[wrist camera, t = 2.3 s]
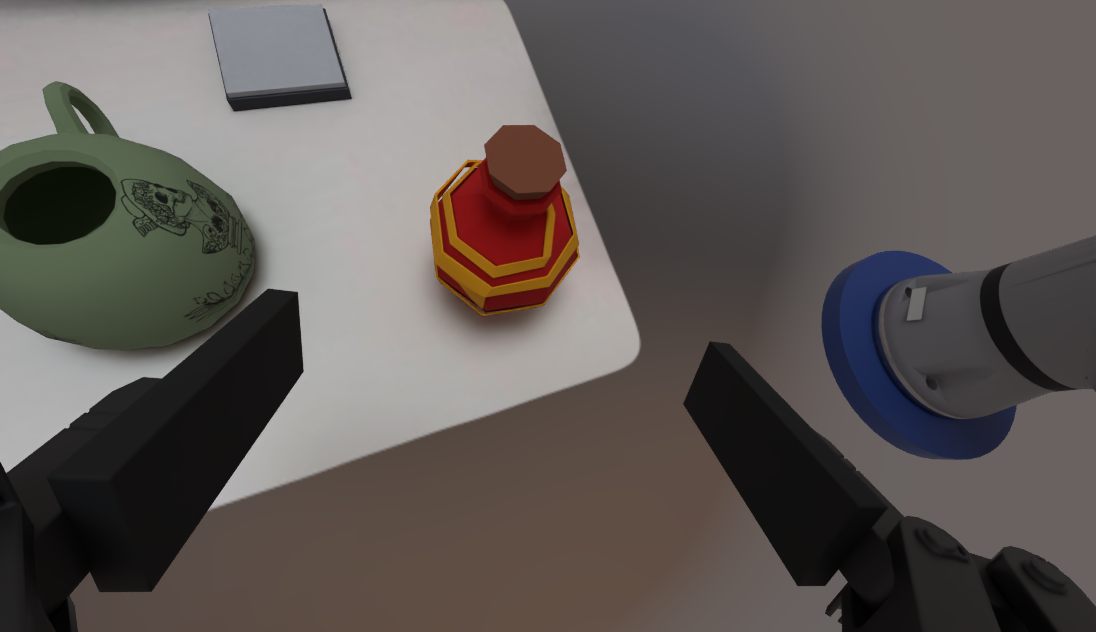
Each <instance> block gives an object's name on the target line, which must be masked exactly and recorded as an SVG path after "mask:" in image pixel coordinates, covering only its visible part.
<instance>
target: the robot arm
mask: <svg viewBox="0 0 1096 632" xmlns="http://www.w3.org/2000/svg"><path fill="white" fill-rule="evenodd" d="M872 336H873V341H874V345H875V349H876V352H877V355H878V357H879V360H880V362H881V364H882V366H883V368H884V370H885V372H886V373H887V375H888V376H889V378H890V379H891V381H892V382H893V384H894V385H895V386H896V387H897V389H898V390H899V391H900V392H901V393H902V394H903V395H904V396H905V397H906V398H907V399H908V400H909V401H910V402H912V403H913V404H914V405H915V406H917V407H918V408H920V409H921V410H923V411H925V412H927V413H929V414H931V415H933V416H936V417H939V418H943V419H949V420H958V419H972V418H977V417H983V416H987V415H990V414H993V413H996V412H998V411H1001V410H1004V409H1007V408H1009V407H1012V406H1015V405H1017V404H1020V403H1023V402H1025V401H1028V400H1031V399H1033V398H1036V397H1038V396H1041V395H1044V394H1047V393H1050V392H1057V391H1066V390H1076V389H1094V390H1095V392H1096V236H1092V237H1089V238H1086V239H1083V240H1080V241H1077V242H1074V243H1071V244H1068V245H1065V246H1061V247H1058V248H1055V249H1052V250H1049V251H1046V252H1043V253H1040V254H1036V255H1033V256H1030V257H1027V258H1024V259H1021V260H1018V261H1015V262H1012V263H1009V264H1006V265H1003V266H1000V267H997V268H994V269H991V270H986V271H974V272H962V273H949V274H936V275H924V276H918V277H914V278H909V279H906V280H903V281H901V282H898V283H895V284H893V285H891V286H889V287H888V288H886V289H885V290H884V291H883V292H882V293H881V294H880V296H879V297H878V299H877V301H876V303H875V306H874V309H873V313H872ZM303 372H304V370H303V357H302V343H301V330H300V316H299V302H298V292H292V291H284V290H275V289H267V290H266V291H265V292H264V293H262V294H261V295H260V296H259V297H258V298H257V299H255V300H254V301H253V302H252V303H251V304H249V305H248V306H247V307H246V308H245V309H244V310H242V311H241V312H240V313H239V314H238V315H236V316H235V317H234V318H233V319H232V320H231V321H229V322H228V323H227V324H226V325H225V326H224V327H222V328H221V329H220V330H219V331H218V332H216V333H215V334H214V335H213V336H212V337H211V338H209V339H208V340H207V341H206V342H205V343H203V344H202V345H201V346H200V347H199V348H198V349H196V350H195V351H194V352H193V353H192V354H191V355H189V356H188V357H187V358H186V359H185V360H183V361H182V362H181V363H180V364H179V365H178V366H176V367H175V368H174V369H173V370H172V371H170V372H169V373H168V374H167V375H166V376H165V377H163V378H162V379H160V378H147V377H143V378H140V379H138V380H136V381H134V382H132V383H130V384H127V385H125V386H123V387H121V388H119V389H117V390H114V391H112V392H111V393H110V394H108V395H107V396H106V397H105V398H103V399H102V400H101V401H99V402H98V403H97V404H96V405H94V406H93V407H92V408H90V411H89V412H88V413H84V414H83V415H81V416H80V417H79V418H77V419H76V420H75V421H73V422H72V423H71V424H70V427H69V428H64V429H63V430H62V431H61V432H59V433H58V434H57V435H55V436H54V437H53V438H51V439H50V440H49V441H48V442H46V443H45V444H44V445H42V446H41V447H40V448H38V449H37V450H36V451H35V452H33V453H32V454H31V455H29V456H28V457H27V458H25V459H24V460H23V461H22V462H20V463H19V464H18V465H16V466H15V467H14V468H13V469H11V470H10V471H9V472H7V473H6V472H5V470H4V468H3V466H2V464H1V462H0V632H78V629H77V621H76V613H75V606H74V603H73V602H72V600H71V598H70V596H69V595H70V594H71V593H72V592H73V590H74V589H75V588H76V587H77V586H78V585H79V583H80V582H81V581H82V580H83V579H84V578H85V576H86V575H87V574H88V573H89V572H90V573H91V575H92V577H93V579H94V581H95V583H96V586H97V588H98V589H99V592H151V591H152V590H153V589H154V587H155V586H156V585H157V583H158V582H159V580H160V579H161V577H162V576H163V574H164V573H165V571H166V570H167V569H168V567H169V566H170V564H171V563H172V561H173V560H174V558H175V557H176V555H177V554H178V553H179V551H180V550H181V548H182V547H183V545H184V544H185V543H186V541H187V540H188V538H189V537H190V535H191V534H192V532H193V531H194V529H195V528H196V526H197V525H198V524H199V522H200V521H201V519H202V518H203V516H204V515H205V514H206V512H207V511H208V509H209V508H210V506H211V505H212V503H213V502H214V501H215V499H216V498H217V496H218V495H219V493H220V492H221V490H222V489H223V488H224V486H225V485H226V483H227V482H228V480H229V479H230V477H231V476H232V474H233V473H234V472H235V470H236V469H237V467H238V466H239V464H240V463H241V461H242V460H243V459H244V457H245V456H246V454H247V453H248V451H249V450H250V448H251V447H252V445H253V444H254V443H255V441H256V440H257V438H258V437H259V435H260V434H261V432H262V431H263V430H264V428H265V427H266V425H267V424H268V422H269V421H270V419H271V418H272V417H273V415H274V414H275V412H276V411H277V409H278V408H279V406H280V405H281V403H282V402H283V401H284V399H285V398H286V396H287V395H288V393H289V392H290V390H291V389H292V388H293V386H294V385H295V383H296V382H297V380H298V379H299V377H300V376H301V374H302V373H303ZM683 404H684V406H685V408H686V409H687V411H688V412H689V414H690V415H691V417H692V419H693V420H694V422H695V423H696V425H697V427H698V428H699V430H700V431H701V433H702V435H703V436H704V438H705V439H706V441H707V443H708V444H709V446H710V447H711V449H712V450H713V452H714V454H715V455H716V457H717V458H718V460H719V462H720V463H721V465H722V466H723V468H724V469H725V471H726V473H727V474H728V476H729V478H730V479H731V481H732V482H733V484H734V485H735V487H736V489H737V490H738V492H739V493H740V495H741V497H742V498H743V500H744V501H745V503H746V505H747V506H748V508H749V509H750V511H751V513H752V514H753V516H754V517H755V519H756V521H757V522H758V524H759V525H760V527H761V528H762V530H763V532H764V533H765V535H766V536H767V538H768V539H769V541H770V543H771V544H772V546H773V548H774V549H775V551H776V552H777V554H778V555H779V557H780V559H781V560H782V562H783V563H784V565H785V567H786V568H787V570H788V571H789V573H790V574H791V576H792V578H793V579H794V581H795V582H796V584H797V586H825V585H826V584H827V583H828V582H829V580H830V579H831V578H832V576H833V575H834V574H835V573H836V572H837V570H838V569H839V570H840V572H841V573H842V574H843V576H844V577H845V578H846V580H847V581H848V583H847V584H846V585H845V586H844V588H843V589H842V590H841V591H840V592H839V593H838V595H837V596H836V597H835V598H834V599H833V601H832V602H831V603H830V604H829V605H828V606H827V609H826V612H825V614H827V615H828V616H831V615H832V614H833V613H834V612H835V611H836V609H842V616H841V617H840V619H839V620H838V622H839V623H841V624H842V632H1096V606H1095V605H1094V604H1093V603H1092V602H1091V601H1090V599H1089V598H1088V597H1087V596H1086V595H1085V594H1084V592H1083V591H1082V590H1081V589H1080V588H1079V587H1078V586H1077V585H1076V584H1075V583H1074V582H1073V581H1072V580H1071V579H1070V578H1069V577H1067V576H1066V575H1065V574H1063V573H1062V572H1061V571H1060V570H1059V569H1058V568H1057V567H1056V566H1054V565H1053V564H1051V563H1050V562H1046V560H1045V559H1043V558H1041V557H1039V556H1037V555H1034V554H1032V553H1030V552H1028V551H1026V550H1023V549H1020V548H1016V547H1012V546H1009V547H1004V548H1003V549H1002V550H1000V552H998V553H997V554H996V555H995V556H994V557H993V558H992V559H987V558H984V557H981V556H977V555H975V554H971V553H969V552H968V551H967V550H966V549H965V548H964V547H963V546H962V545H961V544H960V543H959V542H958V541H957V540H956V539H955V538H953V537H952V536H951V535H949V534H948V533H947V532H946V531H944V530H943V529H941V528H939V527H937V526H936V525H934V524H932V523H931V522H928V521H926V520H923V519H920V518H918V517H911V516H906V517H904V516H903V515H902V514H901V513H900V512H899V511H898V510H897V509H896V508H895V507H894V506H893V505H892V504H891V503H890V502H889V501H888V500H887V499H886V498H885V497H884V496H883V495H882V494H881V493H880V492H879V491H878V490H877V489H876V488H875V487H874V486H873V485H872V484H871V483H870V482H869V481H868V480H867V479H866V478H865V477H864V476H863V475H862V474H861V473H860V472H859V471H856V468H855V467H854V466H853V464H852V463H851V462H850V461H848V460H847V459H844V456H843V455H842V453H841V452H840V451H839V450H838V449H837V448H836V447H835V446H834V445H832V443H831V442H830V441H828V440H827V439H826V438H824V437H823V436H821V435H820V434H819V433H817V432H816V431H814V430H813V429H812V428H811V427H810V426H809V425H808V424H807V423H806V422H805V421H804V420H803V419H802V418H801V417H800V416H799V415H798V414H797V413H796V412H795V411H794V410H793V409H792V408H791V407H790V406H789V405H788V403H787V402H786V401H785V400H784V399H783V398H781V396H780V395H779V394H778V393H777V392H776V391H775V390H774V389H773V388H772V387H771V386H770V385H769V384H768V383H767V382H766V381H765V380H764V379H763V378H762V377H761V376H760V375H759V374H758V373H757V372H756V371H755V370H754V369H753V368H752V367H751V366H750V364H749V363H748V362H747V361H746V360H745V359H744V358H743V357H741V355H740V354H739V353H738V352H737V351H736V350H735V349H734V348H733V347H732V346H731V345H730V344H727V343H718V342H709V345H708V347H707V350H706V352H705V354H704V357H703V359H702V361H701V363H700V366H699V368H698V370H697V373H696V375H695V378H694V380H693V382H692V385H691V387H690V389H689V392H688V394H687V396H686V399H685V401H684V403H683Z"/></svg>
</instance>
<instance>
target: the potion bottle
mask: <svg viewBox="0 0 1096 632" xmlns="http://www.w3.org/2000/svg"><path fill="white" fill-rule="evenodd" d="M484 147H485V152H486V158H485V159H484V160H467V161H466V162H465V163H464V164H463V165H462V166H461V167H460V168H459V169H458V170H457V171H456V172H455V174H454V175H453V176H452V177H451V178H450V179H449V180H448V181H447V182H446V183H445V184H444V185H443V186H442V187H441V188H440V189H439V190H438V191H437V192H436V193H435V195H434V198H433V201H432V203H431V206H430V212H431V219H430V226H431V235H432V244H433V253H434V262H435V271H436V278H437V279H438V281H439V282H440V283H441V284H442V285H443V286H445V287H446V288H447V289H448V290H450V291H451V292H452V293H453V294H455V295H456V296H457V297H459V298H460V299H461V300H462V301H464V302H465V303H466V304H468V305H469V306H470V307H471V308H473V309H474V310H475V311H476V312H478V313H479V314H480V315H482V316H486V315H492V314H498V313H504V312H510V311H517V310H523V309H529V308H536V307H540V306H543V305H544V304H545V303H546V301H547V300H548V299H549V297H550V296H551V295H552V293H553V292H554V291H555V289H556V288H557V287H558V285H559V284H560V283H561V281H562V280H563V279H564V277H565V276H566V275H567V273H568V272H569V271H570V269H571V268H572V267H573V265H574V264H575V263H576V261H577V260H578V259H579V257H580V256H579V250H578V245H579V241H578V236H577V231H576V226H575V221H574V216H573V211H572V207H571V202H570V197H569V195H568V194H567V192H566V191H565V190H564V189H563V187H561V185H560V181H559V180H560V178H561V177H562V176H563V175H564V174H565V172H566V171H567V170H566V165H565V161H564V157H563V153H562V149H561V145H560V143H559V142H557V141H556V140H554V139H553V138H552V137H550V136H549V135H547V134H546V133H545V132H543V131H542V130H540V129H539V128H538V127H536V126H535V125H503V126H502V127H501V128H500V129H499V130H498V131H497V132H496V133H495V134H494V135H493V136H492V137H491V138H490V140H489V141H488V142H487V143H486V144H485V145H484ZM464 167H471V168H470V169H469V170H468V171H467V172H466V173H465V174H464V175H463V176H462V177H461V178H460V179H459V180H458V181H457V182H456V183H455V184H454V185H453V186H452V187H451V188H450V189H449V190H448V191H447V192H446V193H445V194H444V192H445V191H446V190H447V189H448V187H449V186H450V185H451V184H452V182H453V181H454V180H455V179H456V177H457V176H458V175H459V173H460V172H461V171H462V170H463V168H464ZM475 167H477V168H475ZM443 194H444V195H443ZM442 195H443V196H442ZM441 196H442V199H441V200H440V201H439V202H438V200H439V199H440V198H441ZM452 288H453V289H452ZM456 291H457V292H458V293H460V294H461V295H462V296H464V297H465V298H467V299H468V300H469V301H471V302H472V303H474V304H475V305H476V306H478V307H479V308H481V309H482V310H483V311H485V312H492V311H498V312H493V313H486V314H483V313H481V312H480V311H479V310H478V309H476V308H475V307H474V306H473V305H472V304H470V303H469V302H468V301H467V300H466V299H464V298H463V297H462V296H461V295H460V294H458V293H457V292H456ZM508 309H510V310H508ZM500 310H504V311H500Z"/></svg>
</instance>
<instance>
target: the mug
mask: <svg viewBox="0 0 1096 632" xmlns="http://www.w3.org/2000/svg"><path fill="white" fill-rule="evenodd" d="M43 94H44V99H45V103H46V107H47V109H48V111H49V113H50V115H51V118H52V120H53V122H54V124H55V127H56V130H57V133H58V134H54V135H48V136H44V137H40V138H36V139H32V140H28V141H25V142H21V143H17V144H13V145H10V146H8V147H7V148H5V149H3V150H1V151H0V309H1V310H2V311H4V312H5V313H6V314H8V315H9V316H10V317H12V318H13V319H14V320H16V321H17V322H19V323H21V324H23V325H24V326H26V327H28V328H30V329H32V330H34V331H36V332H38V333H40V334H41V335H43V336H45V337H47V338H51V339H55V340H60V341H64V342H69V343H73V344H77V345H82V346H86V347H91V348H95V349H109V350H129V349H139V348H149V347H159V346H168V345H170V344H173V343H175V342H177V341H180V340H182V339H184V338H187V337H189V336H191V335H194V334H196V333H198V332H200V331H203V330H205V329H207V328H209V327H210V326H211V325H212V324H214V323H215V322H216V321H217V320H218V319H219V318H220V317H222V316H223V315H224V314H225V313H226V312H227V311H228V310H230V309H231V308H232V307H233V306H234V305H235V304H236V303H238V302H239V300H240V298H241V296H242V294H243V292H244V290H245V288H246V286H247V284H248V282H249V280H250V278H251V276H252V274H253V272H254V238H253V236H252V234H251V232H250V230H249V227H248V225H247V224H246V222H245V220H244V218H243V216H242V214H241V212H240V210H239V208H238V207H237V205H236V203H235V201H234V199H233V197H232V196H231V195H229V194H228V193H227V192H225V191H224V190H223V189H221V188H220V187H219V186H217V185H216V184H215V183H213V182H212V181H211V180H209V179H208V178H207V177H205V176H204V175H203V174H201V173H200V172H199V171H197V170H196V169H194V168H193V167H192V166H190V165H189V164H188V163H186V162H185V161H183V160H182V159H181V158H178V157H176V156H174V155H172V154H169V153H167V152H165V151H162V150H159V149H156V148H153V147H149V146H146V145H142V144H139V143H136V142H132V141H129V140H125V139H122V138H119V136H118V134H117V133H116V131H115V129H114V128H113V126H112V125H111V123H110V121H109V120H108V119H107V117H106V116H105V115H104V114H103V112H102V111H101V110H100V109H99V107H98V106H97V105H96V104H95V103H93V102H92V101H91V100H90V99H89V98H88V97H87V96H85V95H84V94H83V93H82V92H81V91H80V90H78V89H76V88H74V87H72V86H70V85H68V84H66V83H62V82H57V81H55V82H53V83H51V84H49V85H47V86H46V87H45V88H43ZM72 105H73V106H74V107H75V108H77V109H78V110H79V111H80V113H81V114H82V115H83V116H84V117H85V119H86V120H87V121H88V122H89V124H90V126H91V127H92V129H93V131H94V133H95V134H89V133H88V131H87V130H86V128H85V127H84V125H83V124H82V122H81V121H80V119H79V117H78V115H77V114H76V112H75V110H74V109H73V107H72Z"/></svg>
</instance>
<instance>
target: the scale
mask: <svg viewBox="0 0 1096 632" xmlns="http://www.w3.org/2000/svg"><path fill="white" fill-rule="evenodd" d="M208 11H209V14H208V15H209V19H210V24H211V29H212V33H213V38H214V42H215V47H216V51H217V56H218V61H219V65H220V70H221V74H222V79H223V84H224V88H225V93H226V97H227V101H228V103H229V104H230V106H231V107H232V109H233V110H234V111H237V110H247V109H256V108H265V107H275V106H284V105H294V104H303V103H313V102H322V101H332V100H341V99H351V94H350V91H349V87H348V84H347V80H346V77H345V74H344V70H343V67H342V64H341V60H340V57H339V54H338V50H337V47H336V44H335V40H334V37H333V33H332V30H331V27H330V23H329V20H328V17H327V13H326V10H325V9H324V8H322V5H296V6H271V7H247V8H222V9H208Z"/></svg>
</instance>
